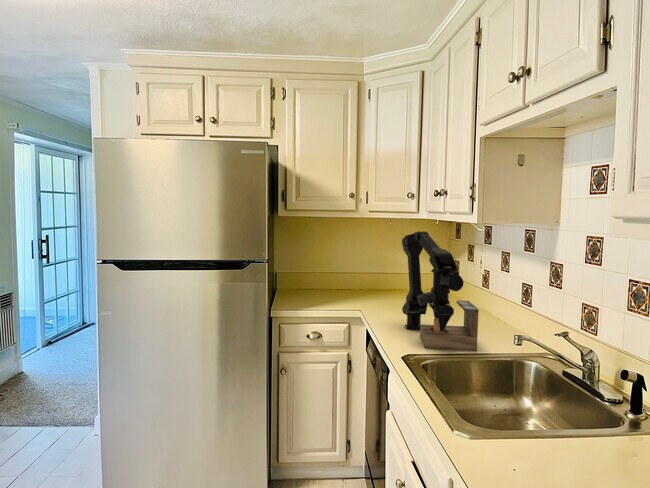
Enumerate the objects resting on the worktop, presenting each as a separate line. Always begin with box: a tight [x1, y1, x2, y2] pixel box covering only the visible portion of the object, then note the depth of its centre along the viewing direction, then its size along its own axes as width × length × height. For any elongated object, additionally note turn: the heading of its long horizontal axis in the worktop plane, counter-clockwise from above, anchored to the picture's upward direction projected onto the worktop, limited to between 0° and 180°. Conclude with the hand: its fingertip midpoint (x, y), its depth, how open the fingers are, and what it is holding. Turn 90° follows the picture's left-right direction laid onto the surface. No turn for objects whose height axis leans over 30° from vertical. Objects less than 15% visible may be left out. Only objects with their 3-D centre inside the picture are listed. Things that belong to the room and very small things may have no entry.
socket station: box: [419, 300, 479, 352], centre depth 153 cm, size 14×18×15 cm
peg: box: [433, 317, 445, 332], centre depth 153 cm, size 4×4×8 cm
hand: (439, 327), depth 153 cm, fingers open, 9 cm apart
